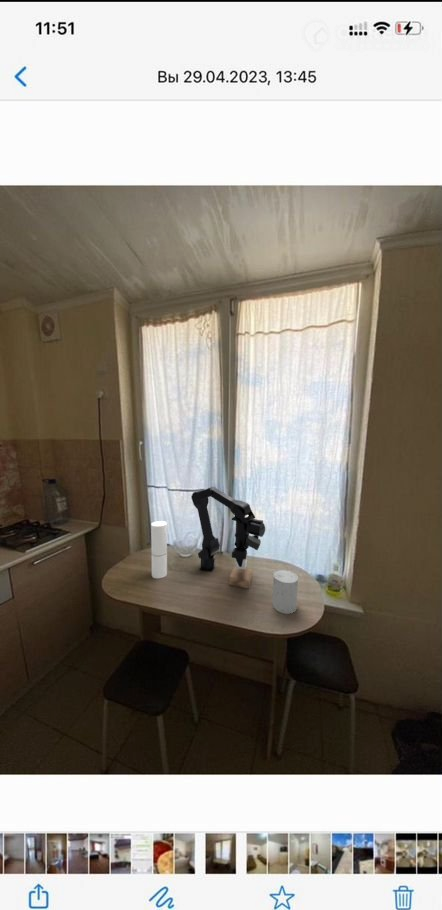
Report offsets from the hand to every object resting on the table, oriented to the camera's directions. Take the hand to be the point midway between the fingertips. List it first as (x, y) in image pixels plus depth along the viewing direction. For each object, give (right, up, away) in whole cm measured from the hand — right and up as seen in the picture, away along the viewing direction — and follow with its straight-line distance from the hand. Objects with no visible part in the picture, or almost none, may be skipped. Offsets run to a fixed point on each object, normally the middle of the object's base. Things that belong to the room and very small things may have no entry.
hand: (241, 563), depth 114 cm
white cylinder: (+16, -10, -15) cm, 24 cm away
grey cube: (0, -1, 0) cm, 1 cm away
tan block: (0, -9, +1) cm, 9 cm away
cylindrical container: (-39, -8, +6) cm, 40 cm away
